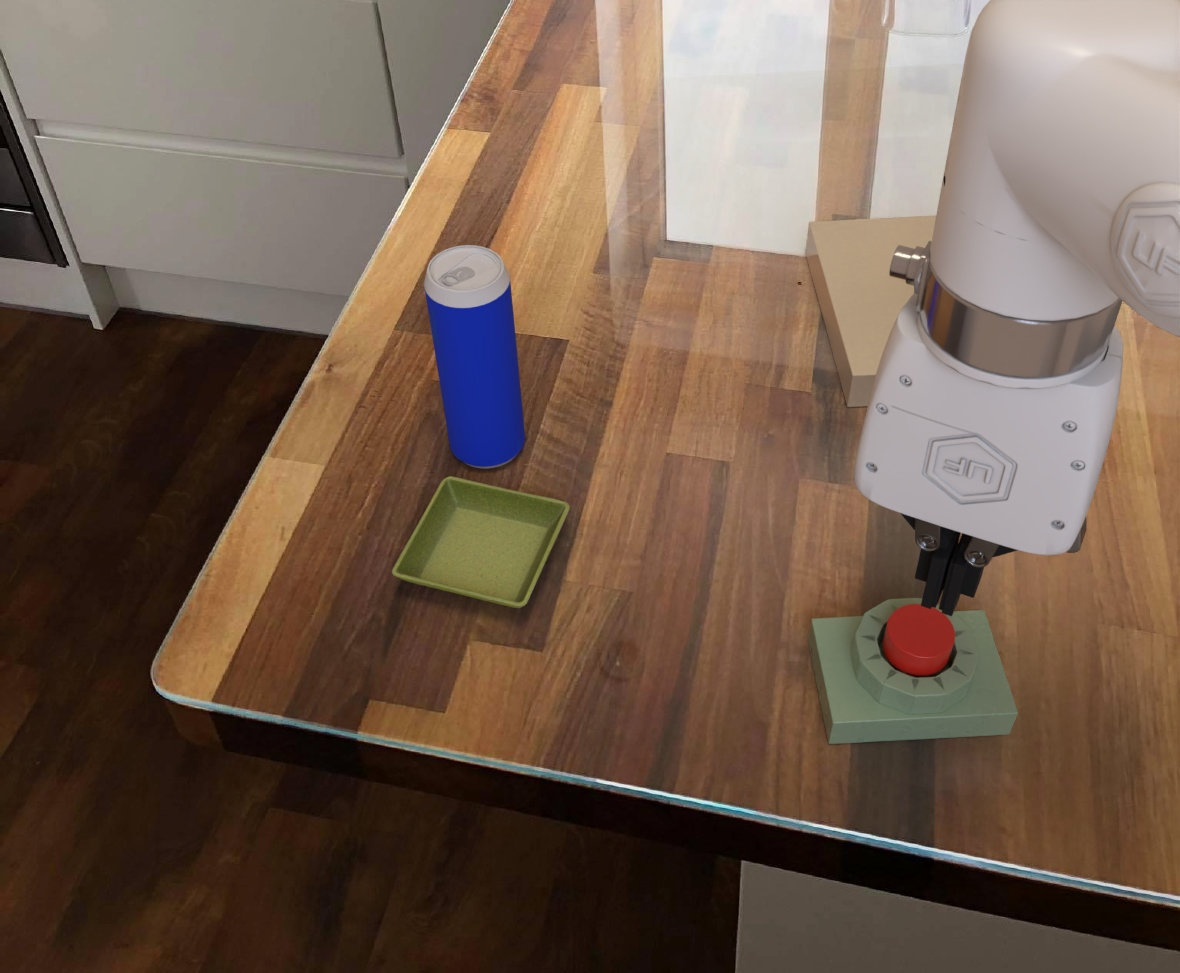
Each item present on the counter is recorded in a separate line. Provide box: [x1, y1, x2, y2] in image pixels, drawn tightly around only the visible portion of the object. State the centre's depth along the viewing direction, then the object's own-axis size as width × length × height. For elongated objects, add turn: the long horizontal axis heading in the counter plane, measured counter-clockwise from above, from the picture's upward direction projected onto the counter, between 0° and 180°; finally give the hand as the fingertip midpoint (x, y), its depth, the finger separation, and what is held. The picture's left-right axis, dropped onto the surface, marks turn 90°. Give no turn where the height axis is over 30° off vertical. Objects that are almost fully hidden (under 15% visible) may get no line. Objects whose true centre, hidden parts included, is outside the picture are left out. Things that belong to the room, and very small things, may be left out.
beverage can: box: [423, 244, 526, 470], centre depth 78 cm, size 5×5×15 cm
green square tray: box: [391, 475, 571, 609], centre depth 76 cm, size 9×9×2 cm
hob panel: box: [804, 214, 936, 408], centre depth 90 cm, size 14×20×3 cm
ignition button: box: [883, 604, 955, 676], centre depth 66 cm, size 4×4×2 cm
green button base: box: [807, 597, 1019, 745], centre depth 68 cm, size 10×7×4 cm
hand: (944, 591), depth 62 cm, fingers closed
